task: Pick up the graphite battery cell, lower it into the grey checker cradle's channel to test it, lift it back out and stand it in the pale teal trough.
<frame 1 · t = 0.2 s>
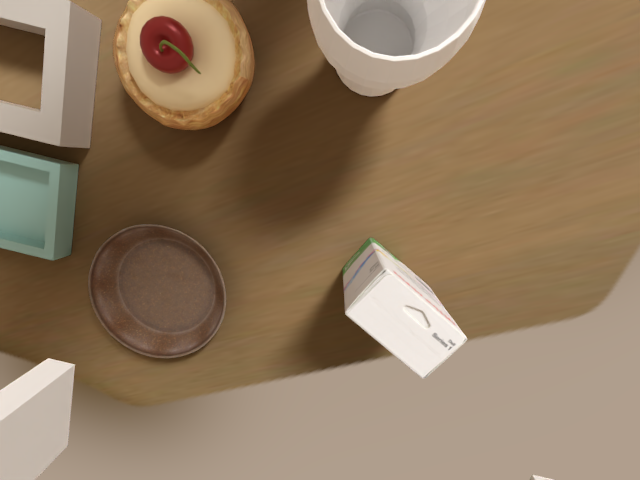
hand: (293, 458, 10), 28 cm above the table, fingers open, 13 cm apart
trough: (11, 195, 38), on the table
ink box: (385, 277, 38), on the table
cradle: (17, 67, 35), on the table
pastry: (201, 69, 34), on the table
saucer: (168, 285, 39), on the table
cup: (373, 53, 33), on the table
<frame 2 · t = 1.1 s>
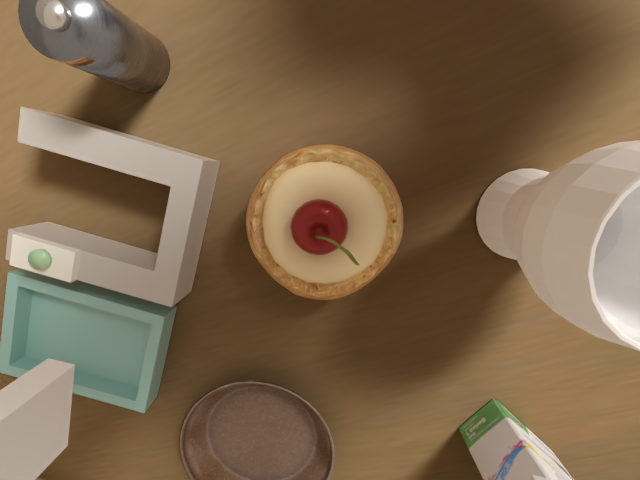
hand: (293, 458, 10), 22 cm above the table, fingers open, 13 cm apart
trough: (97, 332, 34), on the table
ink box: (503, 437, 35), on the table
cradle: (118, 203, 31), on the table
cell: (142, 62, 29), on the table
pastry: (325, 216, 31), on the table
saucer: (262, 430, 36), on the table
cup: (520, 214, 30), on the table
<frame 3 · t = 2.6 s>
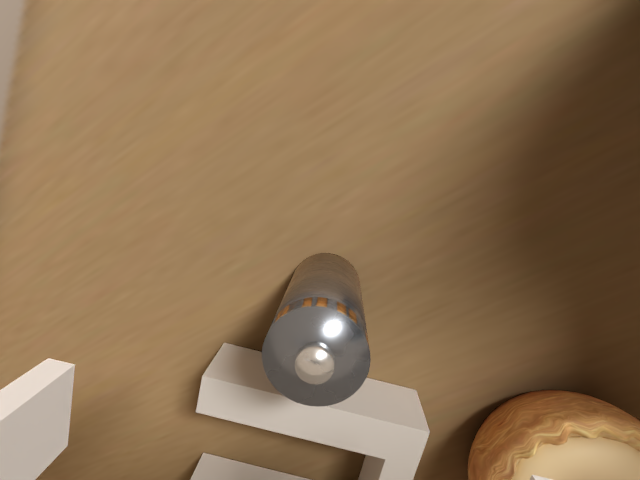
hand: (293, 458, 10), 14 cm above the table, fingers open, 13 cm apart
cradle: (288, 433, 26), on the table
cell: (325, 286, 24), on the table
pastry: (540, 444, 26), on the table
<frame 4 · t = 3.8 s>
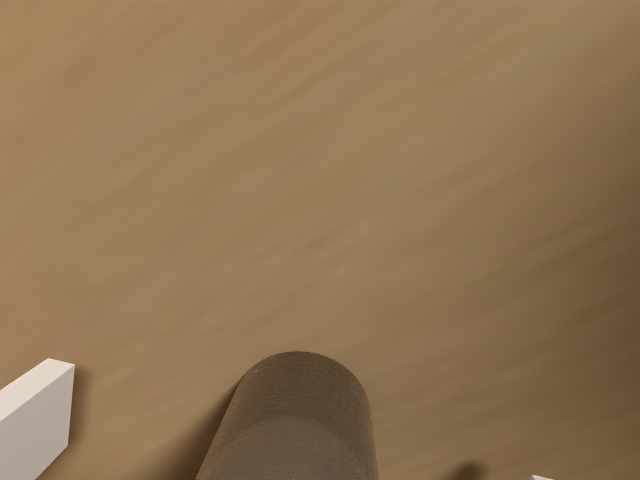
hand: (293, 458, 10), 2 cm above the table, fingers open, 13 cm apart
cell: (300, 414, 12), on the table
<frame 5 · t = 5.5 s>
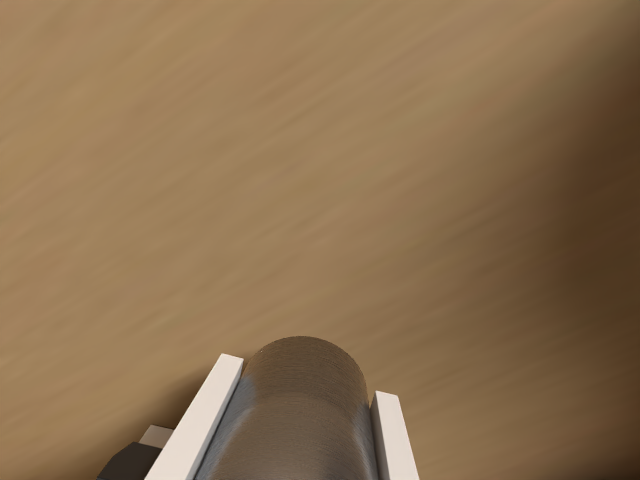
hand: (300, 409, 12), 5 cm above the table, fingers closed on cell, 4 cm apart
cell: (303, 395, 13), point 4 cm above the table, touching gripper
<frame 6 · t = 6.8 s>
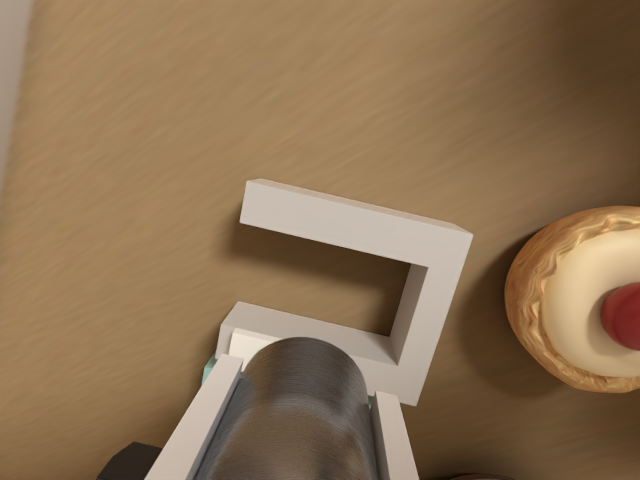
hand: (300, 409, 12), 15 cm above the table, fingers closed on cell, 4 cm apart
cradle: (323, 277, 26), on the table
cell: (302, 396, 13), point 14 cm above the table, touching gripper
pastry: (573, 281, 26), on the table
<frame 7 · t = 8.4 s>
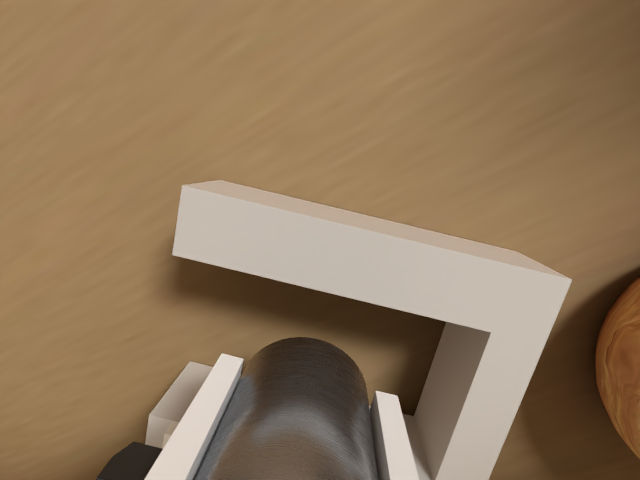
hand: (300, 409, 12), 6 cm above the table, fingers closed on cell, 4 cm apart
cradle: (316, 328, 18), on the table
cell: (302, 396, 13), point 5 cm above the table, touching gripper
when the fingers open (2 cm above the table, at t = 16.0 s): cell stays where it is, resting on trough.
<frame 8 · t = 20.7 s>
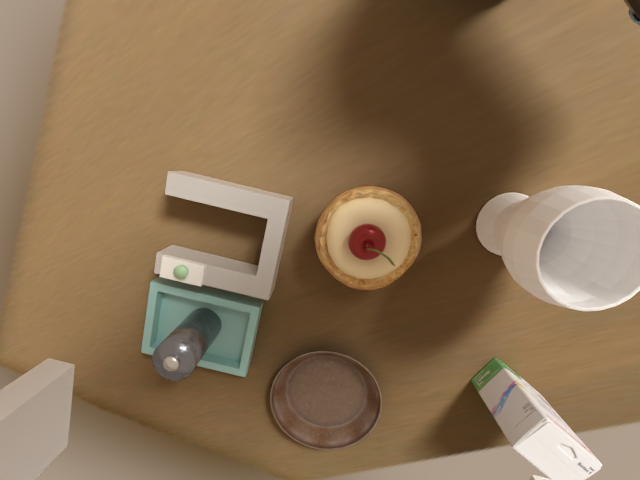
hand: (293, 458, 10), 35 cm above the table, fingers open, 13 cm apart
trough: (206, 322, 47), on the table
ink box: (504, 385, 47), on the table
cradle: (222, 229, 44), on the table
cell: (204, 324, 46), point 1 cm above the table, touching trough
pastry: (364, 232, 44), on the table
saucer: (326, 389, 49), on the table
cup: (507, 224, 43), on the table
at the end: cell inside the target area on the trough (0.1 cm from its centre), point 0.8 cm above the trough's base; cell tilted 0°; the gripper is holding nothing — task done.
